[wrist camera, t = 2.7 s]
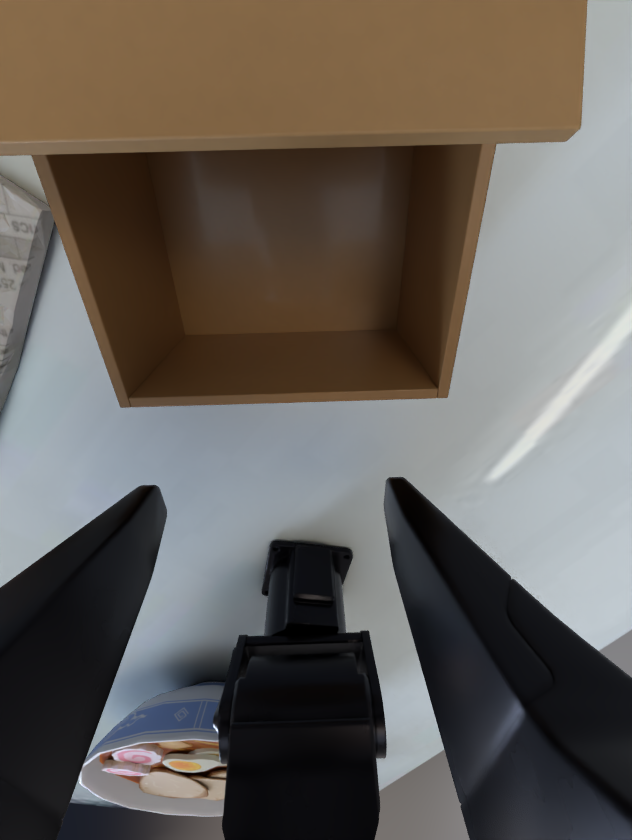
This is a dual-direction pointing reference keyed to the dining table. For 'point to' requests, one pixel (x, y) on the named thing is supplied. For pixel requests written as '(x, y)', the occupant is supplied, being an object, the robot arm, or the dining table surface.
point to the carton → (273, 268)
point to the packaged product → (19, 271)
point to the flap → (286, 74)
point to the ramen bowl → (163, 756)
